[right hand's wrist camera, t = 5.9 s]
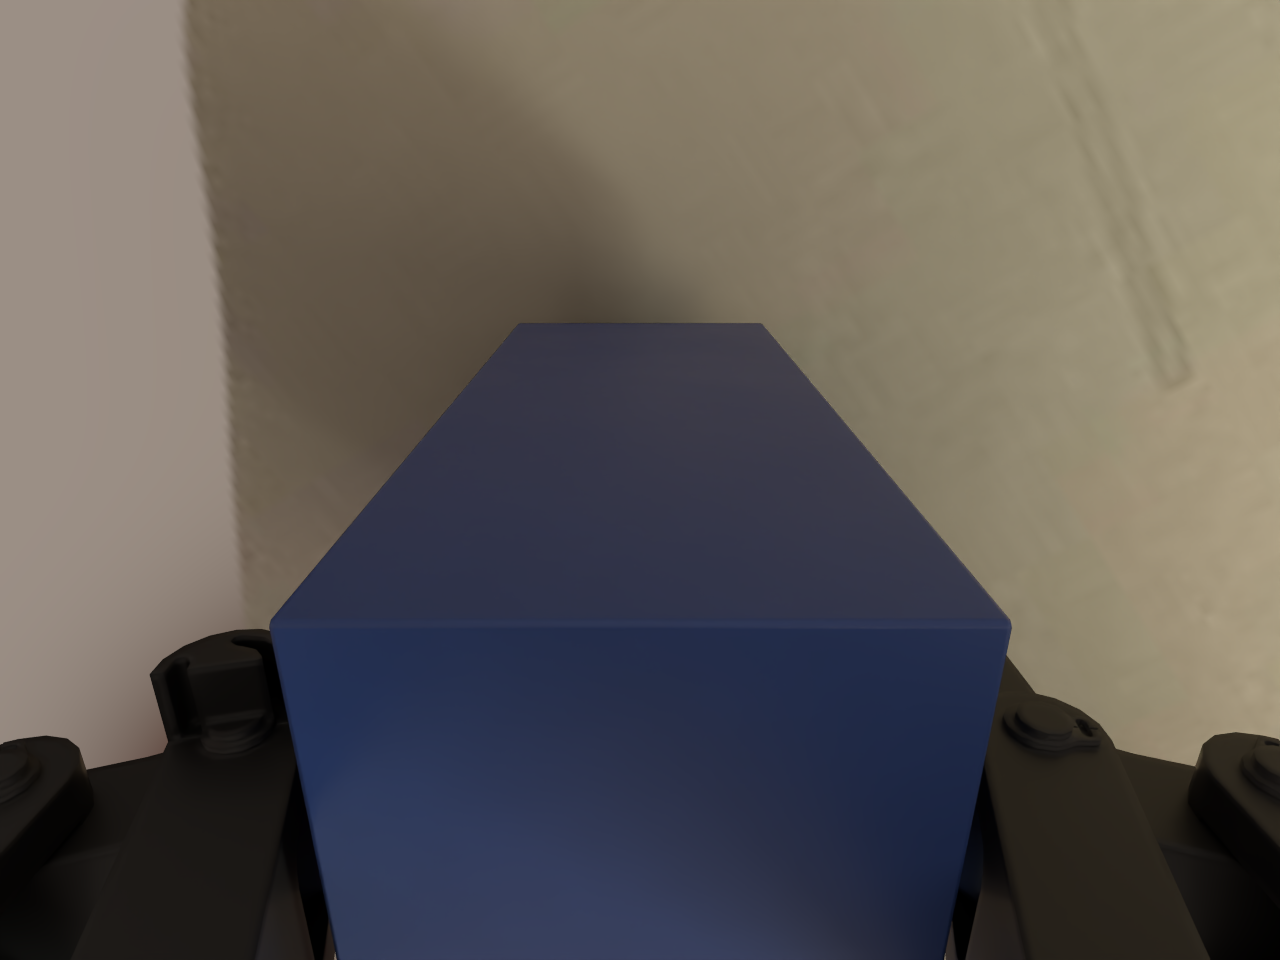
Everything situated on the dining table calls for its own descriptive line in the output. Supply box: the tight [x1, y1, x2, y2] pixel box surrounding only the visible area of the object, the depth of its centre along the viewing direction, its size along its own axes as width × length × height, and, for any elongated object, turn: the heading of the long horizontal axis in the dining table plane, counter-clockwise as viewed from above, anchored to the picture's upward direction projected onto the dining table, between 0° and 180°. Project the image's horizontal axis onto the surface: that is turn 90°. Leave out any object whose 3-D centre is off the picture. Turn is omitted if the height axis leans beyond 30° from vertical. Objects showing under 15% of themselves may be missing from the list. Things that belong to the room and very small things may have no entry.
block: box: [269, 323, 1012, 960], centre depth 12 cm, size 7×5×12 cm
